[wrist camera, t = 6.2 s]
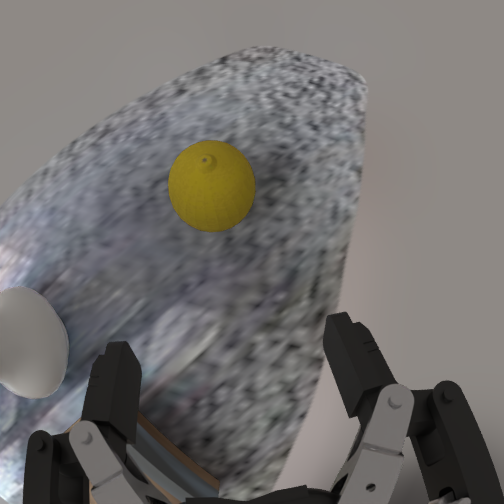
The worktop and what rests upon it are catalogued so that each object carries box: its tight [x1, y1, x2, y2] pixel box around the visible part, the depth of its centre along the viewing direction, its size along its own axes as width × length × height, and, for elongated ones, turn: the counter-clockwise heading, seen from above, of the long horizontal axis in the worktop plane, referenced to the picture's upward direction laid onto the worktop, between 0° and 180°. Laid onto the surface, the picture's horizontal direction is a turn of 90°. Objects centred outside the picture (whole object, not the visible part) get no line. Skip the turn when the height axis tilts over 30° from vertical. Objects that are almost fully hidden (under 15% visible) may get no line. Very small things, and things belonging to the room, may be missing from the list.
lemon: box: [168, 140, 255, 232], centre depth 18 cm, size 6×6×8 cm
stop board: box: [64, 411, 220, 504], centre depth 16 cm, size 18×12×4 cm, turn 133°
